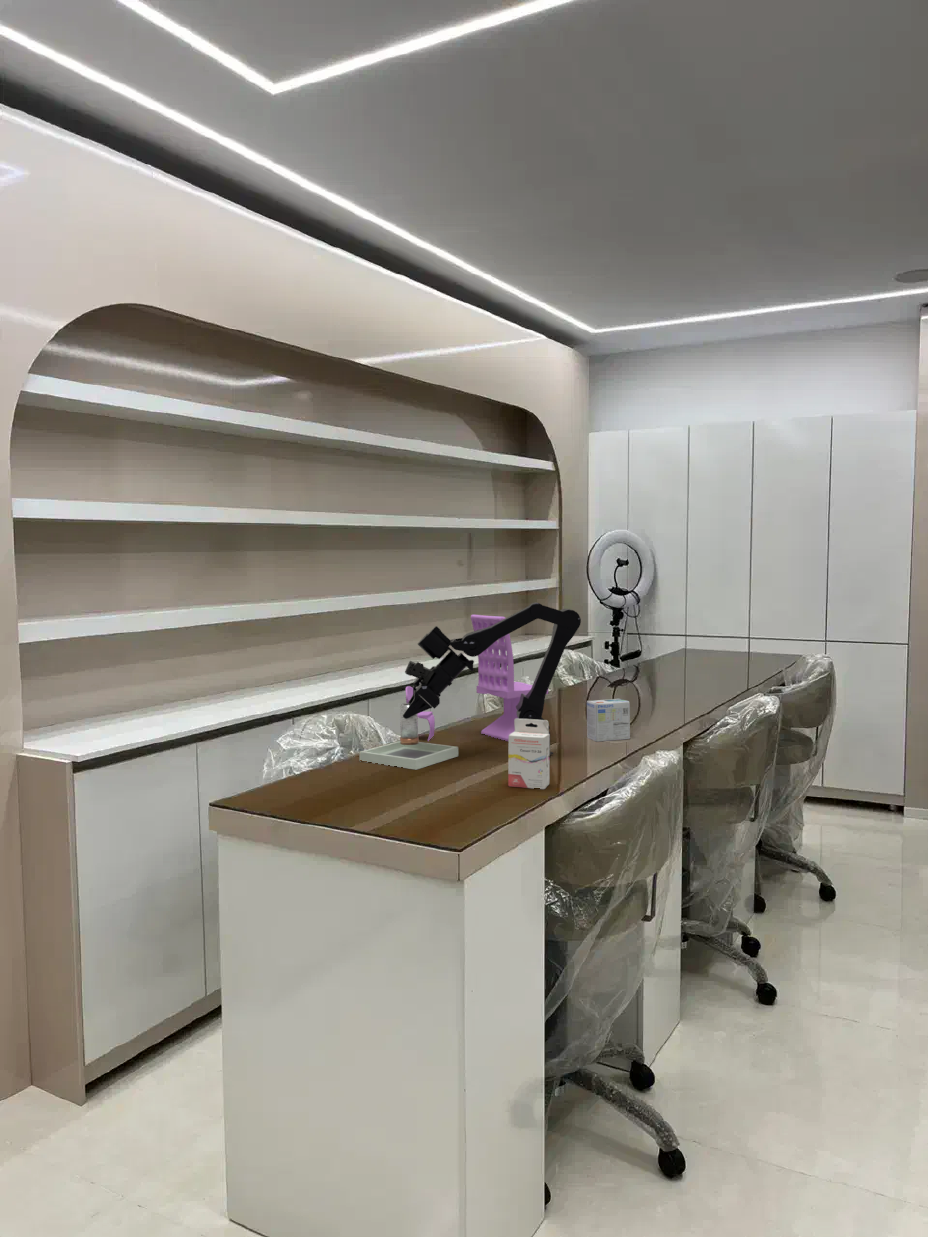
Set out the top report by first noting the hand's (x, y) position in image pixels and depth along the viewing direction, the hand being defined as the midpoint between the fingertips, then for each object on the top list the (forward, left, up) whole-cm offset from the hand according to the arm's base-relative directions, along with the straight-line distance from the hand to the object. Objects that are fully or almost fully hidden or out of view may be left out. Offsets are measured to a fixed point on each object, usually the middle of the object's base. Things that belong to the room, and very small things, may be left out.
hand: (403, 715), depth 231 cm
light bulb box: (-33, -51, -11) cm, 62 cm away
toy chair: (+13, -23, -11) cm, 29 cm away
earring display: (-7, -40, -11) cm, 42 cm away
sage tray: (-1, -1, -11) cm, 11 cm away
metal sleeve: (-1, -1, -7) cm, 7 cm away
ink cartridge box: (-41, +7, -11) cm, 43 cm away
